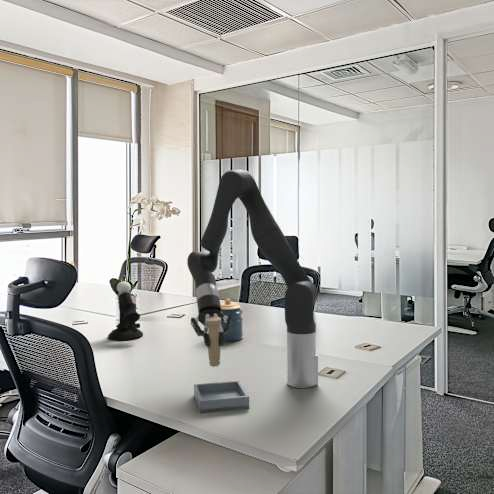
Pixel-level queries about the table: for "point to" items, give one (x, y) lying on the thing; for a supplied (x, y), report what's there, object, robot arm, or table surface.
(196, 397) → the tray
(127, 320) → the sculpture
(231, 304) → the canister
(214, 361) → the beige club-shaped piece
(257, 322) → the table surface
